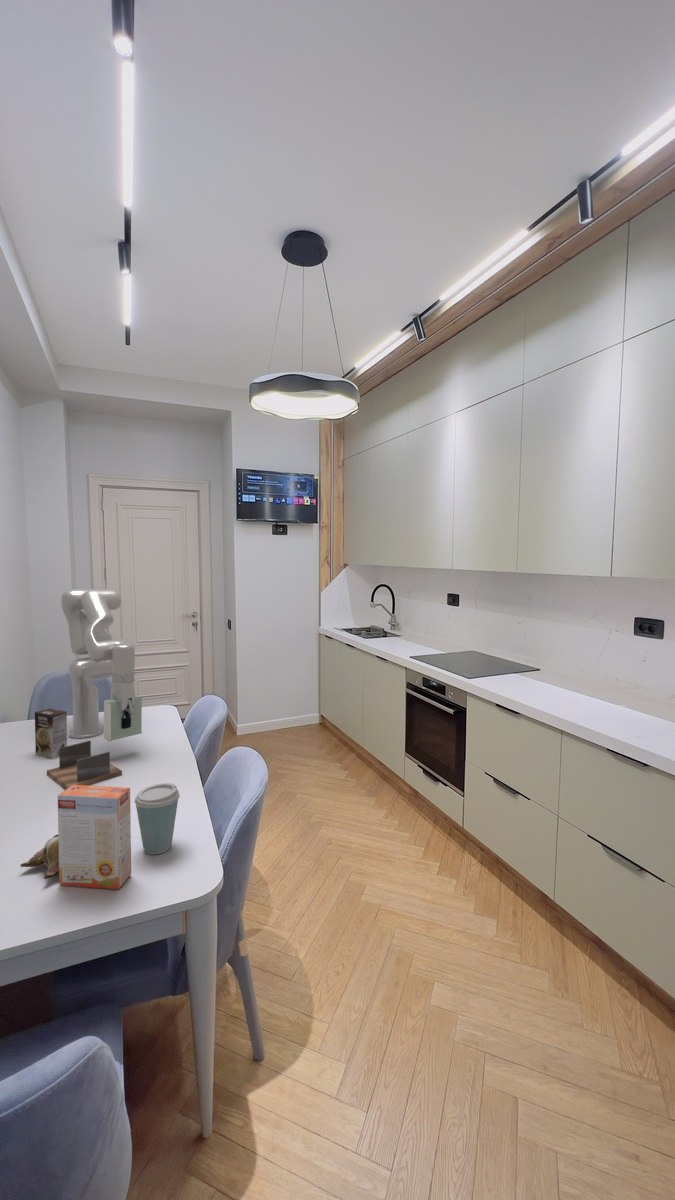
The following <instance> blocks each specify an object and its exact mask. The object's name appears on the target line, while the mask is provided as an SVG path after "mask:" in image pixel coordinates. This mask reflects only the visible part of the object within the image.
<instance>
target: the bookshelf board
mask: <svg viewBox="0 0 675 1200" xmlns="http://www.w3.org/2000/svg"><path fill="white" fill-rule="evenodd" d="M110 753H111V752H110V751H107V752H103V753H102V752H101V753H99V754H94V755H92V741H91V740H87V741H82V742H79V743H75V744H70V745H67V746H66V747H61V748H59V757H58V758H59V759H58V760H59V765H58V767H55V768H50V769H47V770H46V775H47V776H48V777H49V778H50V779H51V780H53V781H55V783H57V784H58V785H59V786H60V787H62V788H63V789H64V791H65V790H66V789H68V788H69V787H71V786H72V785H89V786H92V785H95V784H98V783H101V782H104V781H107V780H111V779H113V778H117V777H121V776H123V770H121V769H120V768H118V767H117V766H115V765H113V764H112V763H110V762H111V761H110V759H111V758H110V756H111V755H110Z"/></svg>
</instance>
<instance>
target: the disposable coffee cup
mask: <svg viewBox="0 0 675 1200" xmlns="http://www.w3.org/2000/svg"><path fill="white" fill-rule="evenodd" d="M180 796H181V795H180V792H179V790H178V786H177V785H176V784H175V783H170V782H164V783H163V782H162V783H156V784H153V785H150V786H147V787H145V788H143V789H142V790H140V791H139V792H138V793H137V794H136V795H135V798H134V803H135V807H136V812H137V818H138V819H137V820H138V825H139V831H140V837H141V843H142V848H143V850H144V852H145V853H146V854H149V855H160V854H163V853H166V852H167V851H168V850H170V848H171V847H172V843H173V837H174V832H175V831H174V830H175V822H176V817H177V816H176V815H177V809H178V803H179V798H180Z"/></svg>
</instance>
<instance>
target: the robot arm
mask: <svg viewBox="0 0 675 1200" xmlns="http://www.w3.org/2000/svg"><path fill="white" fill-rule="evenodd" d="M60 601H61V608H62V612H63V615H64V617H65V619H66V622H67V624H68V633H69V634H68V635H69V642H70V643H69V644H70V648H71V652H72V653H73V654H74V655H76V656H82V655H88V657H82V658H77V659H74V660H72V662H70V665H69V667H68V669H69V676H70V680H71V688H72V689H71V690H72V692H71V693H72V726H73V727H72V729H71V730H69V733H68V737H70V738H74V739H87V738H91V737H92V738H93V737H96V736H98V735H101V734H103V733H104V727H102V726H100V724H99V723H100V720H99V719H100V717H99V715H100V713H99V690H98V687H97V686H96V685H95V684H94V683H93V682H92V681H96V680H102V679H108V678H111V686H110V698H109V699H115V700H117V701H118V710H120V711H122V715H123V718H122V729H126V728H130V727H131V716H132V713H133V712H134V709H133V708H134V706H135V694H136V693H135V684H134V682H135V674H136V673H135V668H136V667H135V664H136V663H135V659H136V658H135V657H136V656H135V654H136V653H135V652H136V651H135V649H136V648H135V645H134V644H133V643H131V642H129V641H128V640H126V639H123V638H121V639H118V638H117V639H113V637H112V635H111V633H110V632H109V631H108V630H106V629H108V628H110V627H111V625H113V623H114V616H113V613H112V611H116V610H118V609H120V607H121V604H122V598H121V596H120V593H119V592H118V591H117V590H116V589H113V588H74V589H69V590H66V591H64V592H63V593H62V595H61V599H60ZM126 707H128V709H126ZM125 711H128V712H126V714H125Z"/></svg>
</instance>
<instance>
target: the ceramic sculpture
mask: <svg viewBox="0 0 675 1200" xmlns="http://www.w3.org/2000/svg"><path fill="white" fill-rule="evenodd" d="M44 864H45V865H46V867H47V870H46V873H45V876H43V879H44V880H46V879H47V880H48V879H50V878H51V879H52V878H53V877H54V878H55V877H57V876H59V838H58V834H55V835H53V837H51V838H49V839H48V840H47V842H46V843H45V844H44V847H43V848H42V849H40V850H39V851H37V852H36V853H35V854H34V855H33V856H32V857H30V859H28V861H25V862H22V863H21V864H20V867H21V868H23V867H24V868H35V867H39V866H42V865H44Z"/></svg>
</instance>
